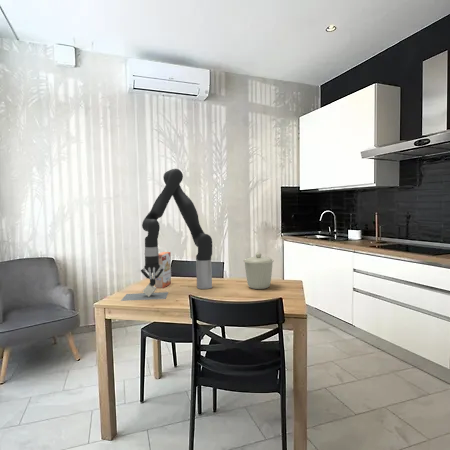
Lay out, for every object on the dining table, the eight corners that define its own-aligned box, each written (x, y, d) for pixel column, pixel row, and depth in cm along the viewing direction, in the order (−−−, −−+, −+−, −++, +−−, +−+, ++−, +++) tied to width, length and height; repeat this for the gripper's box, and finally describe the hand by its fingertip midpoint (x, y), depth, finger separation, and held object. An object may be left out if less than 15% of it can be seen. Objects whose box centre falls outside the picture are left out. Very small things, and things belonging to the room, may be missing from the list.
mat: (168, 292, 192) (168, 292, 192) (165, 299, 178) (165, 298, 178) (126, 294, 190) (126, 293, 190) (120, 301, 176) (120, 300, 176)
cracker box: (163, 288, 202) (162, 254, 201) (154, 288, 203) (153, 254, 202) (171, 283, 216) (170, 251, 215) (163, 283, 217) (162, 251, 216)
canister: (270, 292, 188) (270, 255, 187) (240, 290, 194) (239, 254, 193) (276, 284, 205) (276, 251, 204) (248, 283, 211) (247, 250, 210)
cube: (156, 288, 187) (149, 282, 186) (155, 290, 182) (148, 284, 181) (150, 294, 187) (144, 289, 186) (149, 297, 182) (142, 291, 181)
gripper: (164, 253, 187) (165, 283, 188) (140, 254, 186) (142, 284, 187) (163, 255, 180) (164, 286, 181) (138, 256, 179) (139, 287, 180)
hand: (152, 285), depth 184 cm, fingers closed
